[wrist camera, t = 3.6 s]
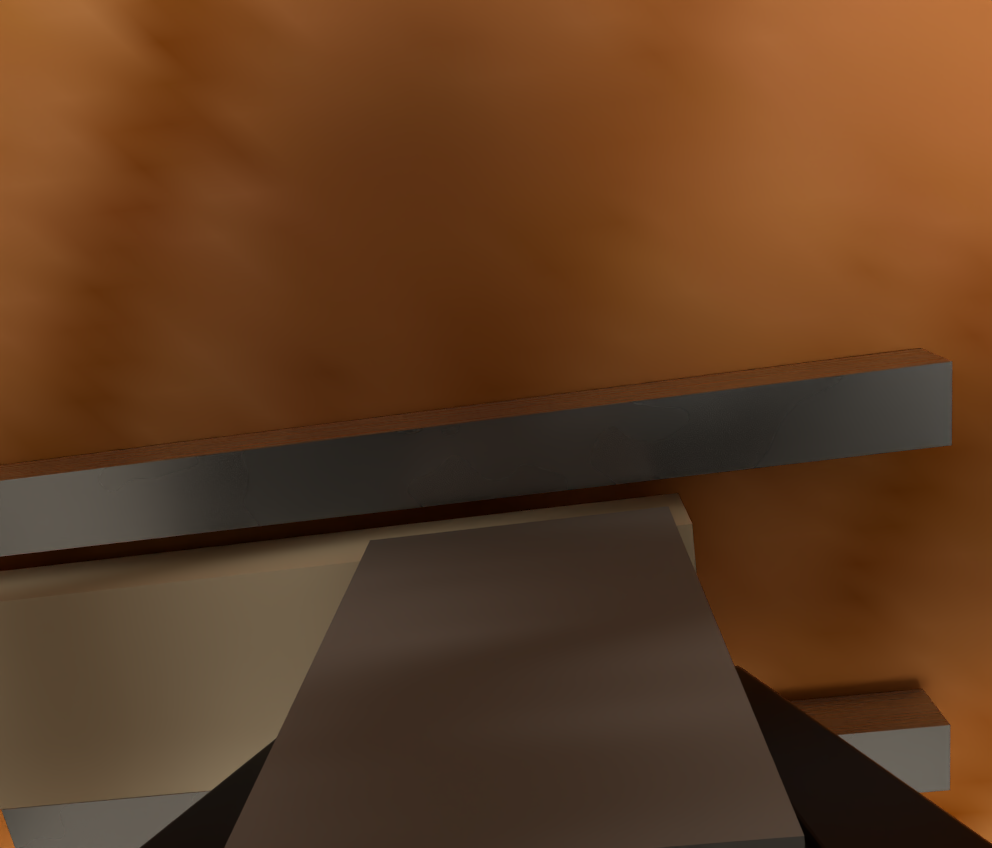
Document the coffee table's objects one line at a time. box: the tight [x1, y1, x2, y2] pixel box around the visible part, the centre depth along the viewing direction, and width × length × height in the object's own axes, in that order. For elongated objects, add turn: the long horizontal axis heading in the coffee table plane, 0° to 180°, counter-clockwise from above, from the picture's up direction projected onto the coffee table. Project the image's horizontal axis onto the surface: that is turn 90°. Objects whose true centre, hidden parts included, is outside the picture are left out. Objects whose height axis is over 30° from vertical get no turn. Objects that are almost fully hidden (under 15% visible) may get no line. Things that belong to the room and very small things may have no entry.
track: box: [0, 348, 952, 848], centre depth 11 cm, size 13×6×1 cm, turn 98°
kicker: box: [0, 493, 805, 848], centre depth 9 cm, size 15×12×6 cm
